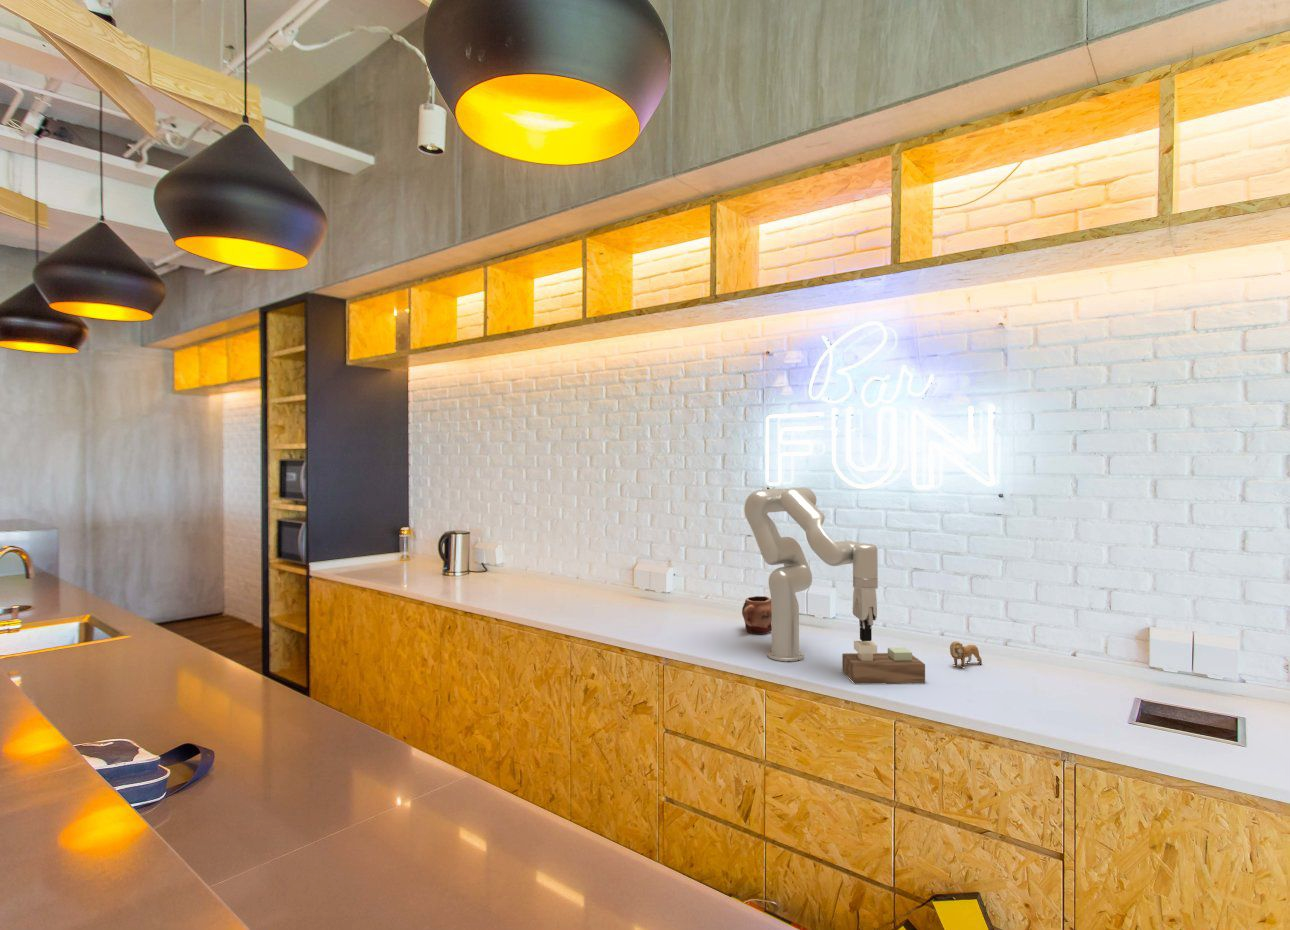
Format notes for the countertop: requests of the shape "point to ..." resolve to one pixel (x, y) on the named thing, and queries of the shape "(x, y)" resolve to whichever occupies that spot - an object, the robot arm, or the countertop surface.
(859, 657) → the cream block
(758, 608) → the decorative planter
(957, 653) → the lion figurine
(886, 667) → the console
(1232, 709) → the countertop surface
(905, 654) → the pale green block
